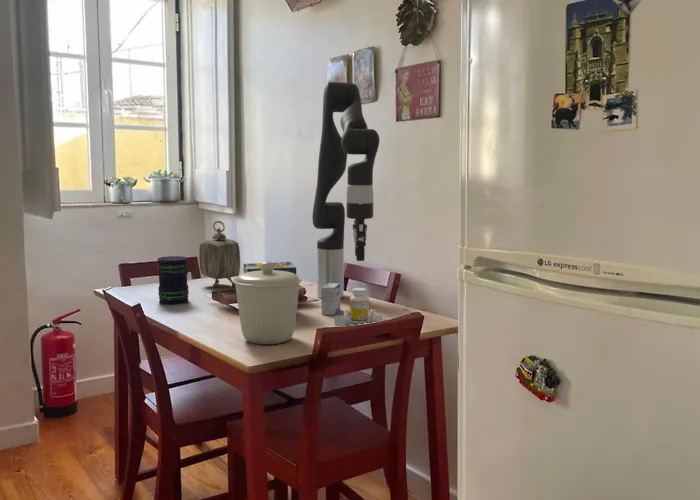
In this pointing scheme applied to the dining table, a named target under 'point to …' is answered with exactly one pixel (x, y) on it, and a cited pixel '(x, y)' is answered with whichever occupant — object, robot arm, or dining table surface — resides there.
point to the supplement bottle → (359, 306)
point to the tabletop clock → (219, 257)
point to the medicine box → (330, 298)
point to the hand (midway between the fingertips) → (359, 258)
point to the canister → (267, 304)
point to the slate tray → (346, 322)
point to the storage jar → (173, 280)
